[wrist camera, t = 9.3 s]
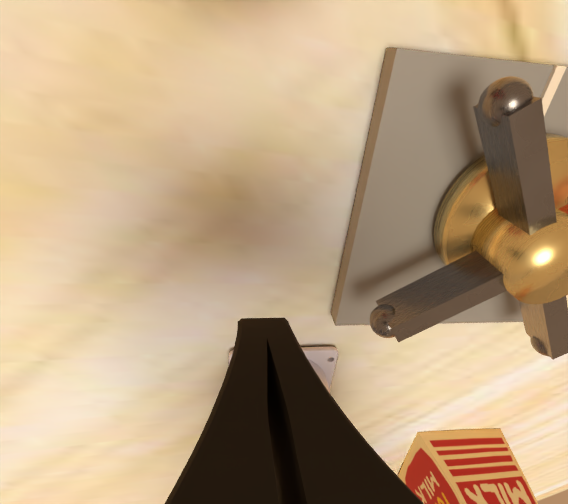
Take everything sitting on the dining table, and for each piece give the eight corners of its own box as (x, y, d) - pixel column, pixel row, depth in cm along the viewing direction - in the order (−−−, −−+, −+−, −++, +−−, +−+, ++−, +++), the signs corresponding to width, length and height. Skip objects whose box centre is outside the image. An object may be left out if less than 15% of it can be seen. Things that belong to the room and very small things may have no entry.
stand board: (532, 310, 26) (546, 323, 25) (330, 313, 24) (335, 327, 23) (677, 69, 18) (708, 71, 17) (389, 36, 16) (401, 35, 14)
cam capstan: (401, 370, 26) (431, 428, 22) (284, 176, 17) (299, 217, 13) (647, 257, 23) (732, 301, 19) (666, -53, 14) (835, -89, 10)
